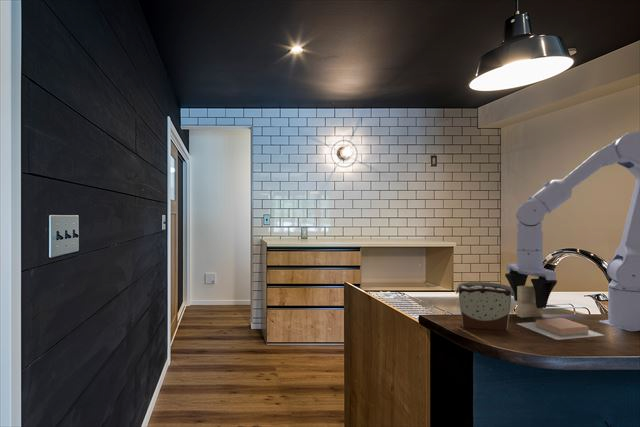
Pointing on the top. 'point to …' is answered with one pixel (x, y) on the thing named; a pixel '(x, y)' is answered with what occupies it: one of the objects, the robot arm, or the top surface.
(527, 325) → the mat
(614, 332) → the top surface
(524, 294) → the beige upright block
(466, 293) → the food container
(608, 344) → the top surface
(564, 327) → the tile
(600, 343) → the top surface
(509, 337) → the top surface
